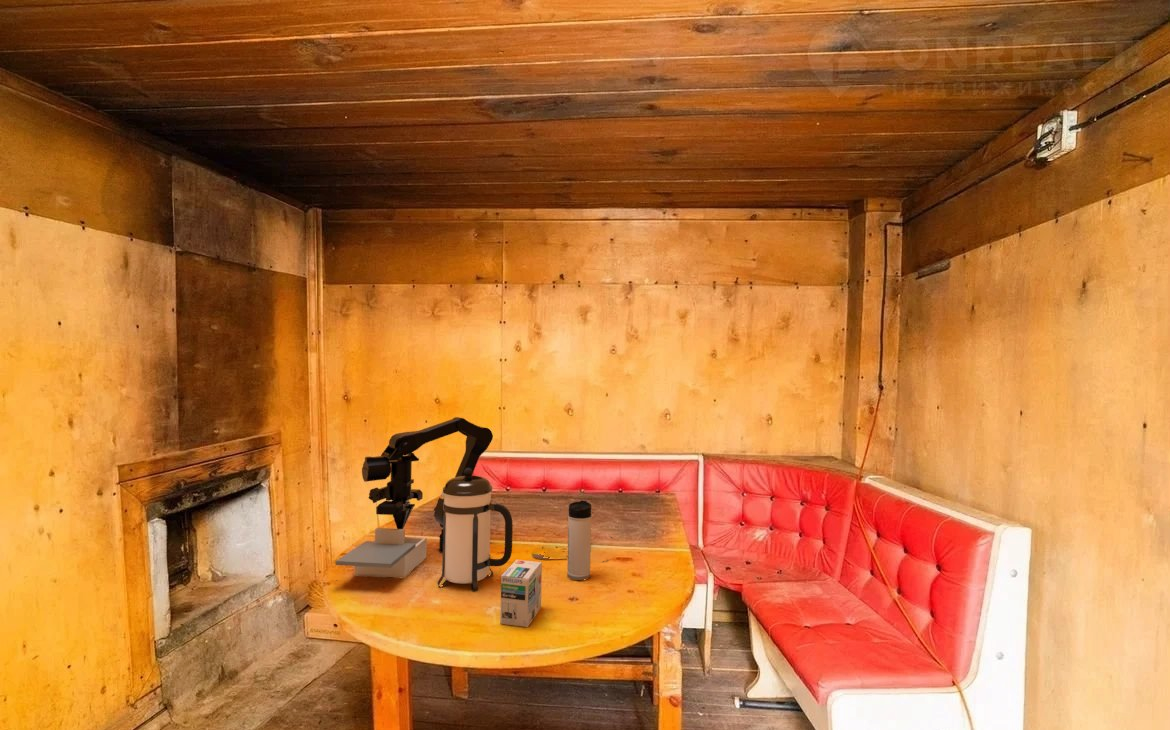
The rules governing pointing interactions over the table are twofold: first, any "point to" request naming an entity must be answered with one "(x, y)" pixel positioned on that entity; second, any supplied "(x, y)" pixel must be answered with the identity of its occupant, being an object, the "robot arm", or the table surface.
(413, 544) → the slate lid
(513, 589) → the light bulb box
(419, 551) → the grey parts tub
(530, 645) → the table surface
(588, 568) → the travel mug
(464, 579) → the coffee press
